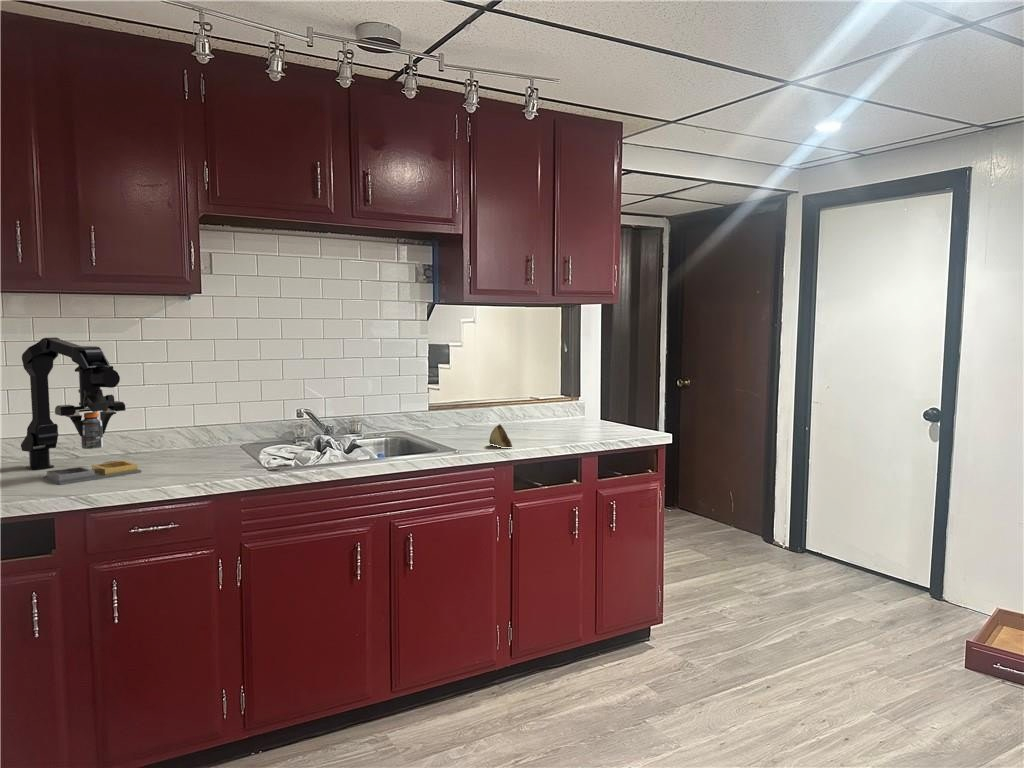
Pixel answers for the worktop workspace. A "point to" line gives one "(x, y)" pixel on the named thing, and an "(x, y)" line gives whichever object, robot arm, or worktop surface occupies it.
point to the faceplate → (91, 472)
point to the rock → (500, 437)
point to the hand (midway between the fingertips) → (92, 435)
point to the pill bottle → (92, 431)
